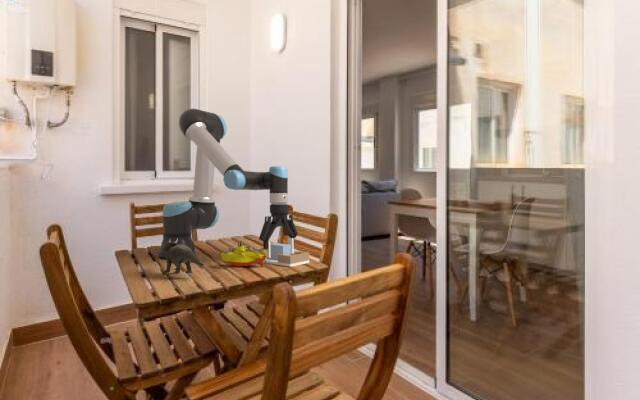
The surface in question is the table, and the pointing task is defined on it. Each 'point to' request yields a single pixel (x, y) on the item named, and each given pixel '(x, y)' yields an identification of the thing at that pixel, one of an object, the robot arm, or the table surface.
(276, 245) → the block
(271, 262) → the jig
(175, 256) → the dinosaur figurine
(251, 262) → the toy boat
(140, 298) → the table surface
